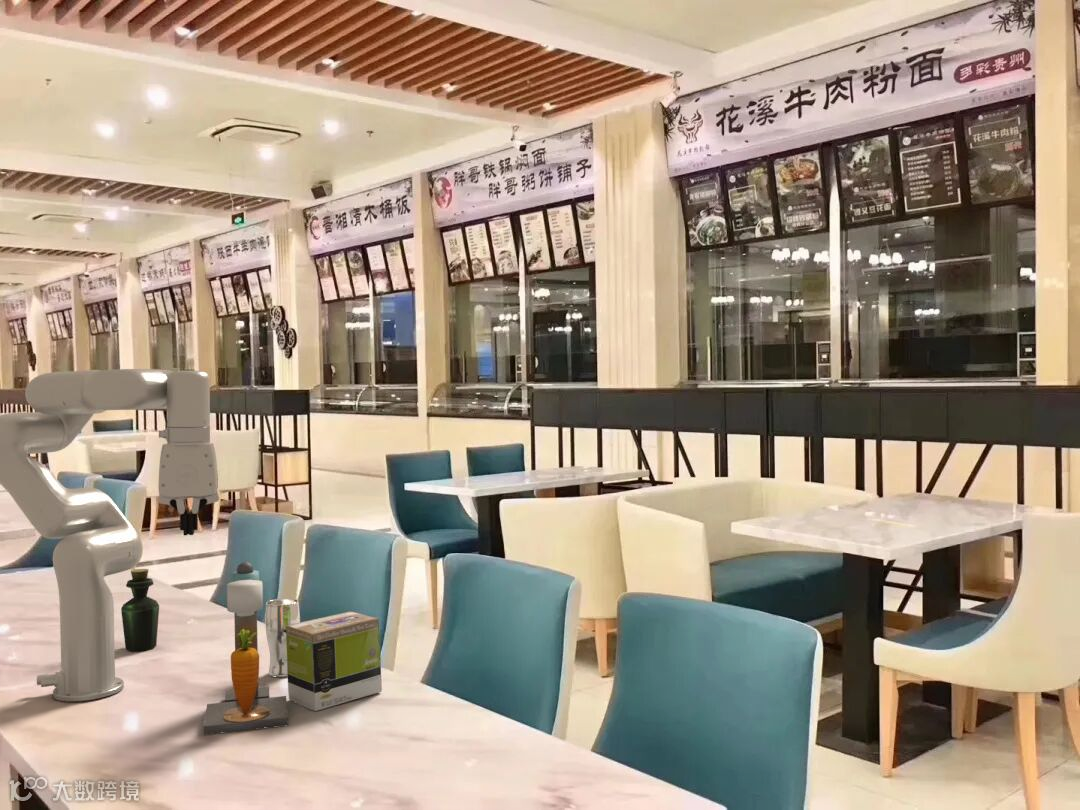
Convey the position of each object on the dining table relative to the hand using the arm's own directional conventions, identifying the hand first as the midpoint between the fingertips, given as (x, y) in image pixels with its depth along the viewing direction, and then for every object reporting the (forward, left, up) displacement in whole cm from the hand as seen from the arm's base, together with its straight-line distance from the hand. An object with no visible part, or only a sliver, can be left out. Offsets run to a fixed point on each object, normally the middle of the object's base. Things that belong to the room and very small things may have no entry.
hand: (189, 534), depth 174 cm
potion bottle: (-14, +46, -32) cm, 58 cm away
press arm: (+10, -8, -13) cm, 18 cm away
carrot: (+10, -13, -31) cm, 35 cm away
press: (+10, -8, -32) cm, 35 cm away
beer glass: (+17, +15, -32) cm, 39 cm away
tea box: (+26, -4, -33) cm, 42 cm away
